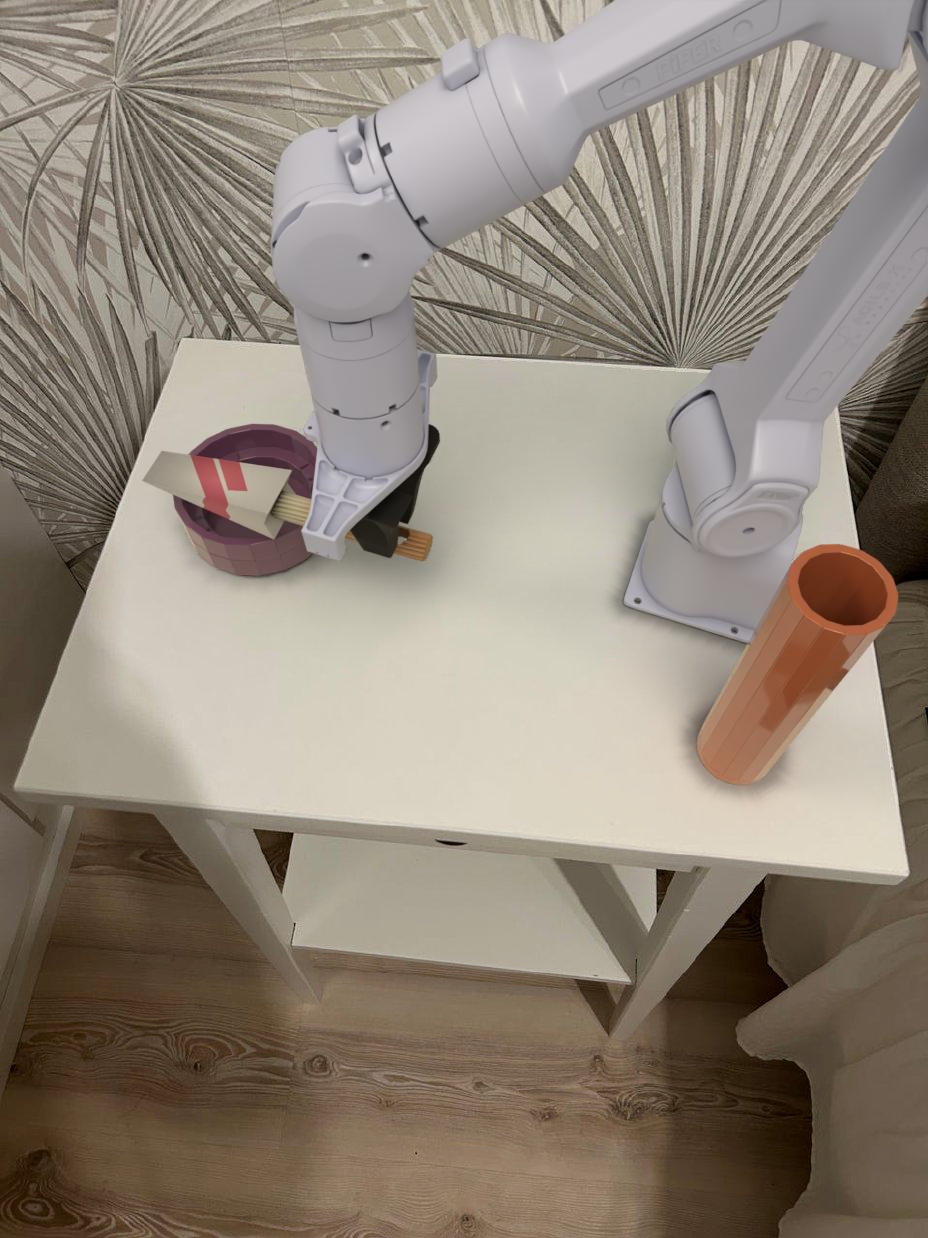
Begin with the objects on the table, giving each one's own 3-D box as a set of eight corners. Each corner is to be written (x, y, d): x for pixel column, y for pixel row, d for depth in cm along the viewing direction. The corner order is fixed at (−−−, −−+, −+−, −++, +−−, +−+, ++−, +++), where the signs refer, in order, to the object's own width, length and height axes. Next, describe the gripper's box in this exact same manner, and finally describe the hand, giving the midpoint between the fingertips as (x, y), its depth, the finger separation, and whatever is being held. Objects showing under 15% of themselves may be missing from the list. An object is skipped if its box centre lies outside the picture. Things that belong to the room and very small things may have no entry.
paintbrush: (160, 429, 60) (438, 514, 57) (170, 456, 63) (437, 539, 60) (130, 471, 58) (416, 561, 56) (142, 497, 61) (417, 585, 58)
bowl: (359, 484, 70) (352, 446, 67) (296, 598, 65) (284, 564, 61) (233, 447, 73) (219, 407, 69) (162, 554, 67) (143, 518, 63)
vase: (779, 728, 60) (904, 561, 42) (765, 796, 57) (890, 648, 40) (706, 704, 61) (798, 531, 43) (688, 770, 58) (779, 614, 41)
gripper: (350, 272, 50) (375, 436, 62) (229, 460, 43) (282, 604, 55) (468, 301, 49) (470, 463, 61) (361, 499, 42) (387, 638, 54)
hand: (387, 532), depth 58 cm, fingers closed on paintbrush, 2 cm apart
